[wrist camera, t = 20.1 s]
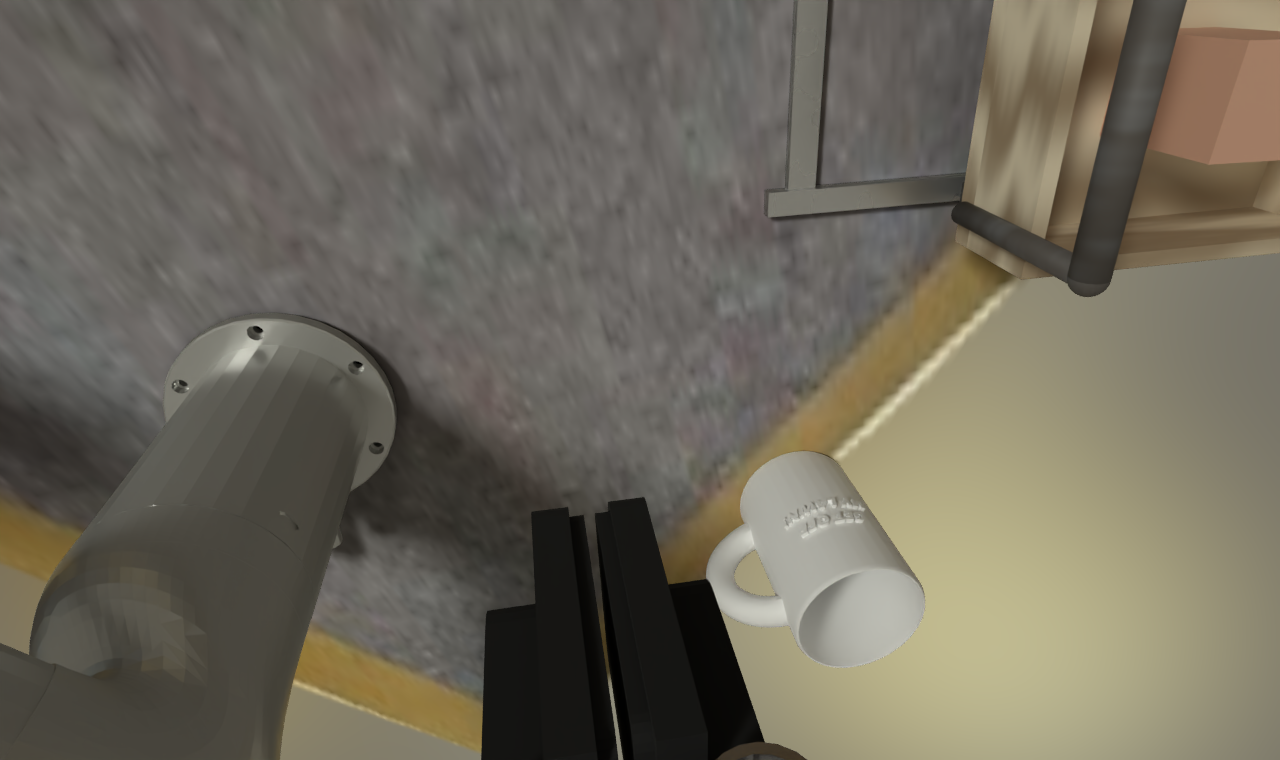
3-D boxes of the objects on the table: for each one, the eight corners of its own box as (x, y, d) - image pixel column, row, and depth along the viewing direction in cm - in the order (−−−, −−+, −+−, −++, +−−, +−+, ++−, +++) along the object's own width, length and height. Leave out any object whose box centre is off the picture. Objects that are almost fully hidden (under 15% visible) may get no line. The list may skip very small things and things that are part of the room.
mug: (673, 487, 52) (715, 614, 42) (836, 431, 52) (919, 545, 42) (701, 570, 56) (746, 705, 46) (853, 519, 56) (932, 643, 46)
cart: (1202, 200, 47) (1470, 286, 34) (907, 228, 45) (1072, 331, 32) (1298, -105, 39) (1692, -146, 26) (948, -90, 37) (1189, -127, 24)
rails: (1167, 178, 47) (1177, 181, 46) (763, 213, 44) (768, 217, 43) (1240, -73, 41) (1253, -74, 40) (773, -51, 38) (778, -52, 37)
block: (1099, 135, 39) (1208, 164, 33) (1126, 30, 37) (1249, 40, 31) (1185, 131, 40) (1307, 158, 34) (1217, 26, 38) (1355, 36, 31)
